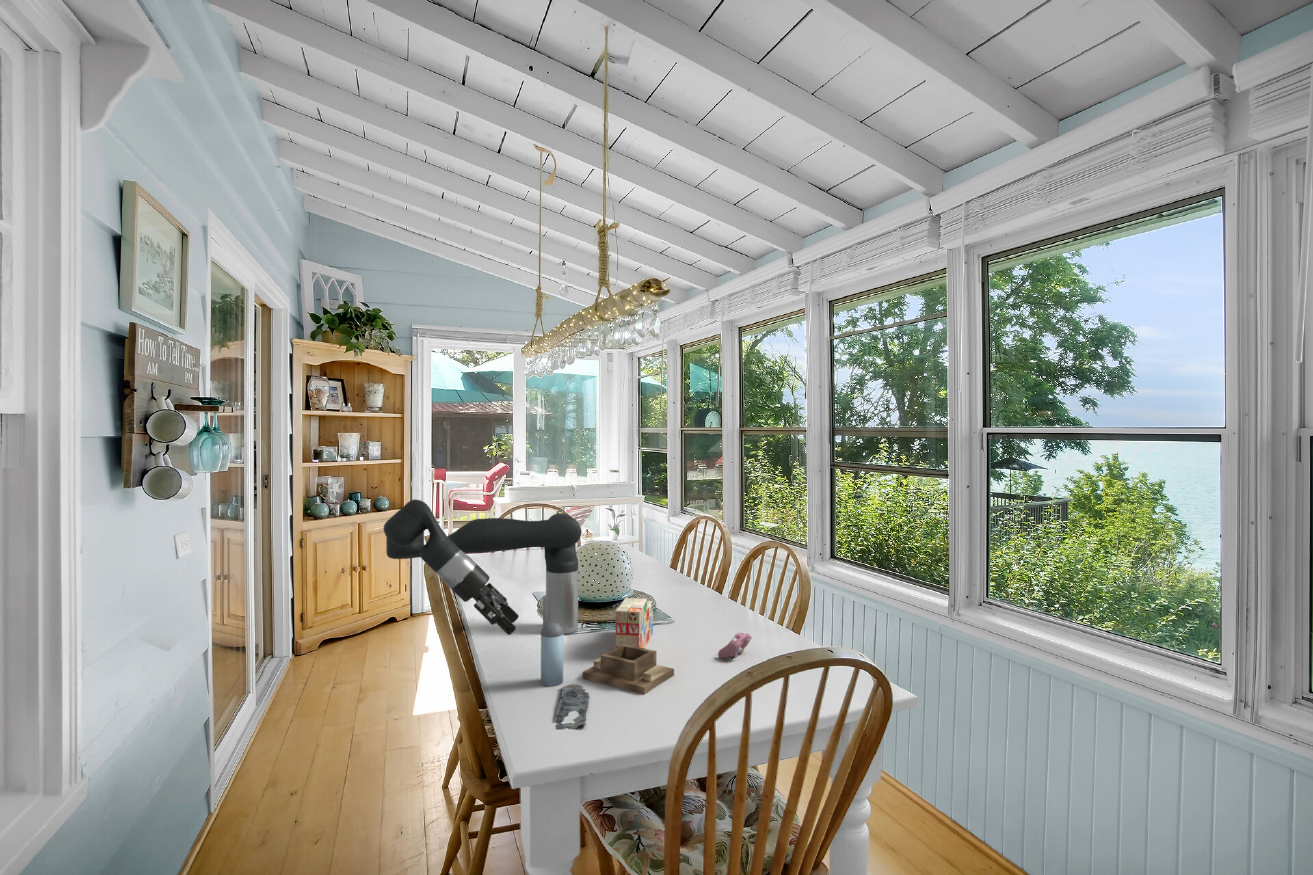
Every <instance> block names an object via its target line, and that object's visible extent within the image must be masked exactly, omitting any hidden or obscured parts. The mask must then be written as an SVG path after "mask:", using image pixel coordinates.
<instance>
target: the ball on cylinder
mask: <svg viewBox="0 0 1313 875" xmlns="http://www.w3.org/2000/svg"><path fill="white" fill-rule="evenodd" d="M540 631H541V632H540V684H541V685H542V686H543V687H557V686H560V685H562V684H563V683H564V634H563V629H562V627H561V626H560V625H559V624H557V623H548V624H546V625H545V626H544V627H543V626H542V629H541V630H540Z"/></svg>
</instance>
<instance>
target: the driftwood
mask: <svg viewBox="0 0 1313 875" xmlns="http://www.w3.org/2000/svg"><path fill="white" fill-rule="evenodd" d="M583 688H584V687H583V685H581V684H578V683H572V684H567V685H563V686H562V689H561V696H560V697H559V700H560V701H559V702H558V703H559V704H558V706H557V710H556V712H555V714H556V715H555V717H554V719H553V721H552V723H554V724H555V726H554V728H555V730H565V729H568V730H574V729H578V727H581V726H587V723H586V721H587V712H588V709H589V700H590V693H589V692H587V691H586V690H587V689H585V688H584V689H583ZM572 712H577V713H578V714H579V715H578V716H576V717H575V718H574V719H572V721H573V722H565V723H563V722H564V721H565V718H566V717H568V716H570V713H572Z"/></svg>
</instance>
